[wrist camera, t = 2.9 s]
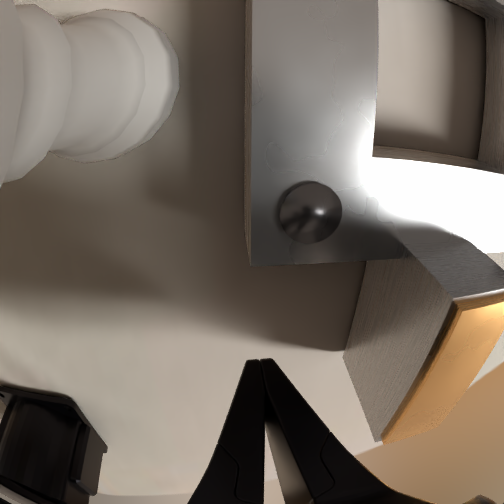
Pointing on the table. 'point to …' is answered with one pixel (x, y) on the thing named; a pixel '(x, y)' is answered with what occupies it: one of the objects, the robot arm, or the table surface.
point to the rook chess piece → (80, 85)
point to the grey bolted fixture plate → (375, 205)
